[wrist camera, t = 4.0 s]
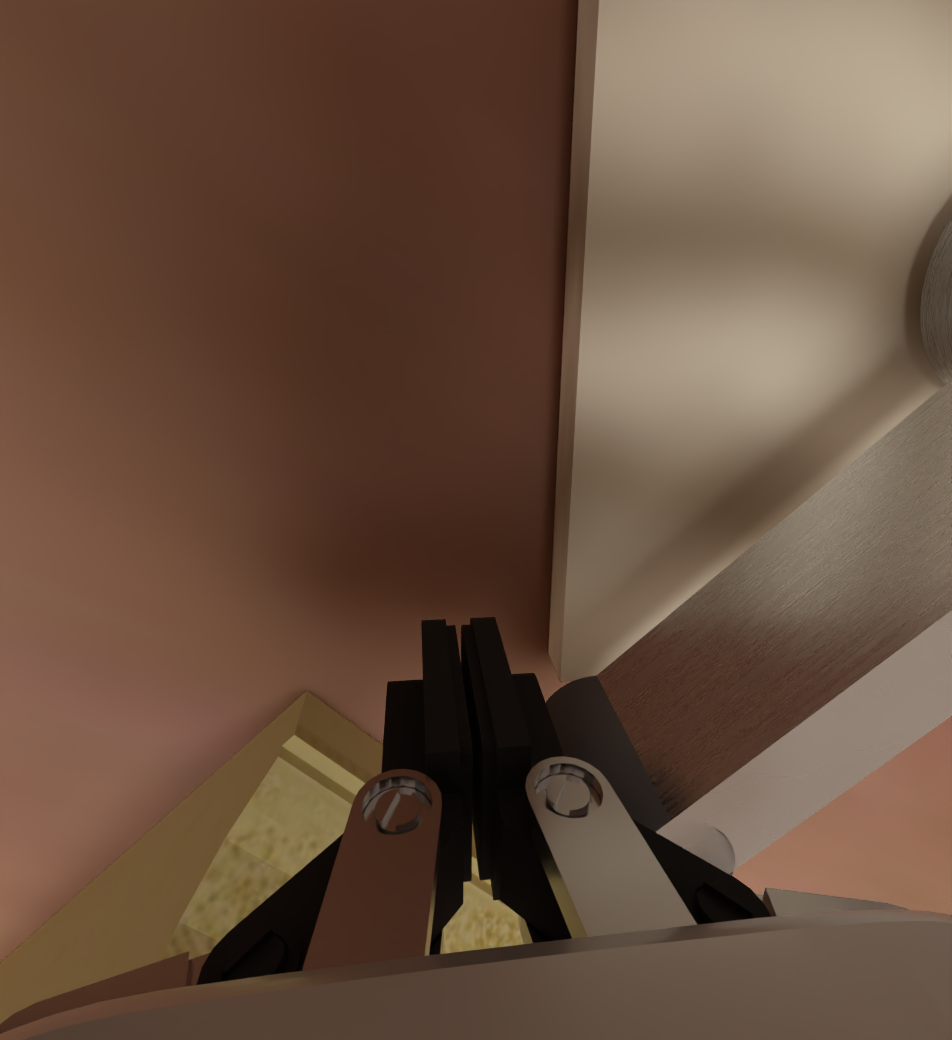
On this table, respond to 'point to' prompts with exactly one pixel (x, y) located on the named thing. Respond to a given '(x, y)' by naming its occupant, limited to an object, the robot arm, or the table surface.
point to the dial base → (734, 283)
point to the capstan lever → (793, 647)
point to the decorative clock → (226, 863)
